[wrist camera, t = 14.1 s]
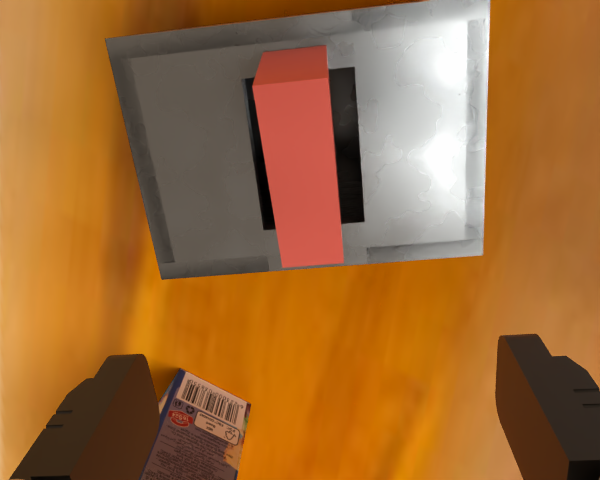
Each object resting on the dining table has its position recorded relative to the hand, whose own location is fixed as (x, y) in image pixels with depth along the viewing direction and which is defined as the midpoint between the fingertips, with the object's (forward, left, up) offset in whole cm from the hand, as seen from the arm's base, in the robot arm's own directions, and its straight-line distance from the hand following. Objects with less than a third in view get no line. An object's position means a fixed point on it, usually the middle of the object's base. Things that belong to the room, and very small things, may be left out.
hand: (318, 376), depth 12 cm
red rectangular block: (+1, -6, -14) cm, 15 cm away
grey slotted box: (+1, -1, -30) cm, 30 cm away
